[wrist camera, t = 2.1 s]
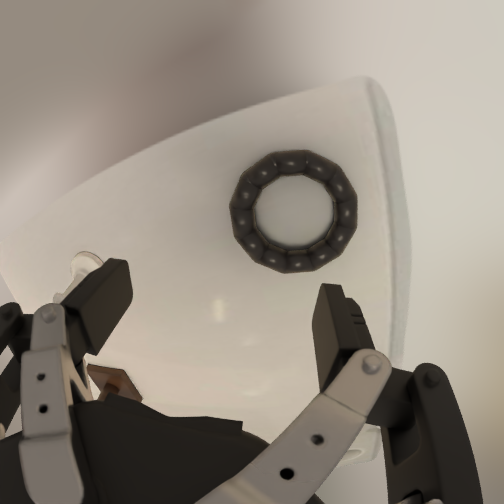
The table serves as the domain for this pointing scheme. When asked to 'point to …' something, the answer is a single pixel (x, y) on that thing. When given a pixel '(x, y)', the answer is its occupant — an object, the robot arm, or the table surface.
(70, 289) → the chess piece
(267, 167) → the ring
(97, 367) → the peg stand
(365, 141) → the table surface
